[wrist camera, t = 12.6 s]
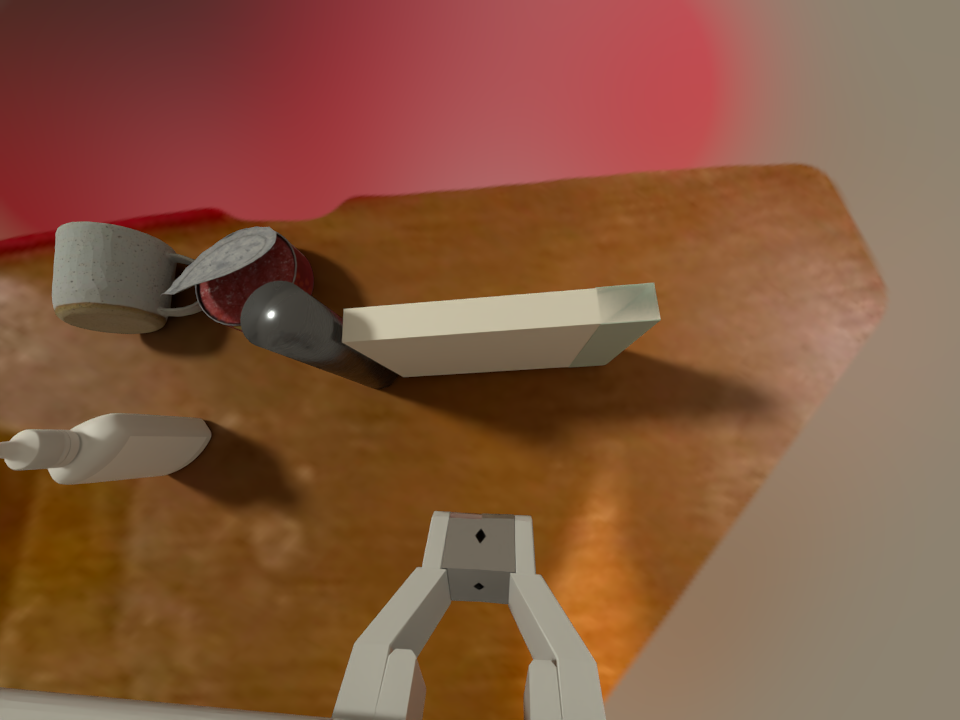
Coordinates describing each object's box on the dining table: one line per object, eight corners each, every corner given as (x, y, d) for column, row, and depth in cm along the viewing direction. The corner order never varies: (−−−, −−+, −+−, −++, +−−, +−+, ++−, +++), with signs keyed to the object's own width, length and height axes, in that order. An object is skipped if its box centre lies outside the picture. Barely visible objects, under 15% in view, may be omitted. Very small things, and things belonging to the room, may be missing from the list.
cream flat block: (403, 377, 30) (341, 343, 19) (403, 354, 30) (343, 308, 20) (605, 365, 28) (660, 320, 18) (602, 341, 29) (653, 282, 18)
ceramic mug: (119, 342, 34) (11, 315, 27) (129, 269, 36) (30, 224, 29) (220, 326, 34) (138, 294, 26) (224, 253, 36) (149, 203, 28)
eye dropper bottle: (215, 463, 30) (29, 478, 19) (156, 477, 30) (-64, 501, 19) (214, 415, 31) (36, 401, 20) (157, 429, 32) (-52, 423, 20)
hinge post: (394, 391, 30) (296, 351, 17) (356, 385, 31) (231, 343, 17) (402, 352, 31) (315, 284, 17) (365, 347, 31) (252, 277, 18)
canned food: (258, 334, 38) (138, 299, 30) (291, 251, 39) (182, 196, 31) (304, 354, 31) (165, 316, 23) (343, 253, 32) (220, 183, 24)
